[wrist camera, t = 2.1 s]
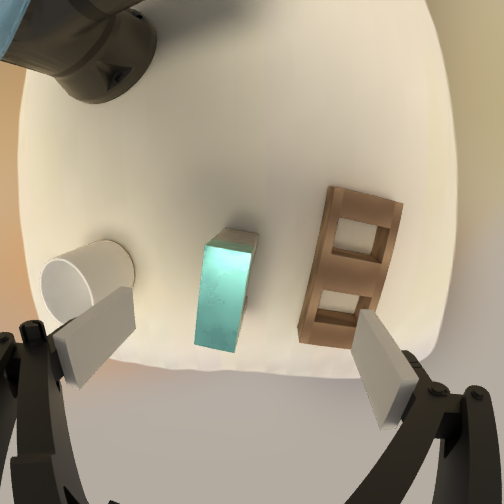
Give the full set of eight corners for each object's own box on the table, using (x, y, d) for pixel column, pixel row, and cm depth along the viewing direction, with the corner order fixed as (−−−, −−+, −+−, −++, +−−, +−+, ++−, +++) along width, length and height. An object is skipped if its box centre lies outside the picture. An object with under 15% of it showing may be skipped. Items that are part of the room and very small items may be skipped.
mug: (100, 318, 39) (60, 352, 29) (82, 241, 37) (32, 260, 26) (147, 319, 38) (111, 359, 28) (130, 235, 36) (82, 255, 25)
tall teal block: (245, 310, 37) (234, 352, 27) (214, 304, 37) (194, 344, 27) (258, 233, 34) (251, 253, 25) (225, 227, 34) (205, 245, 25)
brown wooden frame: (354, 335, 36) (361, 350, 32) (297, 326, 37) (299, 342, 33) (390, 201, 32) (403, 203, 28) (328, 186, 32) (335, 186, 28)
